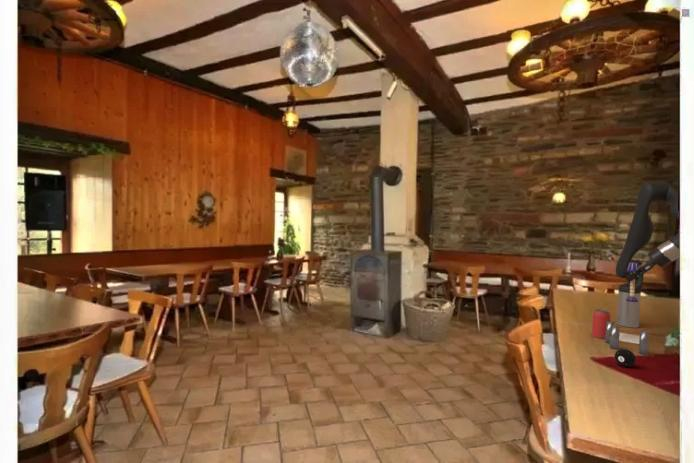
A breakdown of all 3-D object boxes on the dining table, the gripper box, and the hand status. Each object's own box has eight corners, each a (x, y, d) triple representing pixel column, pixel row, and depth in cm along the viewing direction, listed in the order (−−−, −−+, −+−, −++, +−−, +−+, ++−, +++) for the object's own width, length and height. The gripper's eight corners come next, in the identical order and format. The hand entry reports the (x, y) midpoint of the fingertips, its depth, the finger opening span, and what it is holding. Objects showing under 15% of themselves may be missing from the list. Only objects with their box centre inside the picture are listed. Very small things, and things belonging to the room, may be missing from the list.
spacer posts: (606, 341, 169) (607, 320, 169) (652, 351, 156) (654, 329, 156) (597, 345, 162) (598, 323, 162) (644, 356, 150) (646, 333, 149)
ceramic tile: (646, 339, 175) (646, 336, 175) (646, 345, 165) (647, 343, 165) (613, 333, 182) (613, 331, 182) (612, 339, 172) (612, 337, 172)
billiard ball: (638, 367, 138) (639, 350, 138) (630, 370, 135) (631, 353, 134) (619, 361, 143) (620, 345, 143) (611, 364, 140) (612, 348, 140)
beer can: (612, 340, 171) (613, 312, 171) (595, 338, 173) (597, 311, 172) (605, 335, 178) (606, 309, 177) (589, 334, 179) (590, 308, 179)
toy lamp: (622, 299, 169) (624, 261, 168) (632, 299, 169) (634, 261, 169) (630, 302, 164) (633, 262, 164) (641, 302, 165) (643, 263, 164)
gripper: (656, 246, 167) (620, 271, 175) (658, 247, 156) (619, 274, 163) (671, 259, 164) (634, 284, 172) (674, 262, 153) (634, 288, 161)
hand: (627, 279), depth 168 cm, fingers closed on toy lamp, 4 cm apart
